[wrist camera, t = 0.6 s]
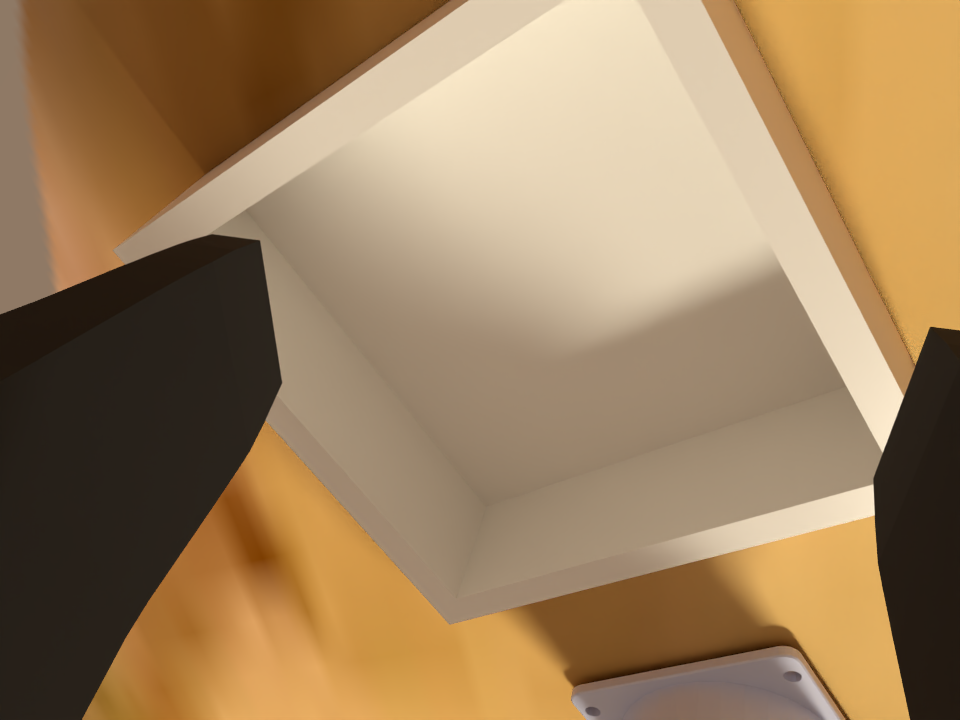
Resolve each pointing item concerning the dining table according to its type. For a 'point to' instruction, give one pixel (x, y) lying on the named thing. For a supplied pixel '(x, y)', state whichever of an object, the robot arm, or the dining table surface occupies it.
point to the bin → (560, 299)
